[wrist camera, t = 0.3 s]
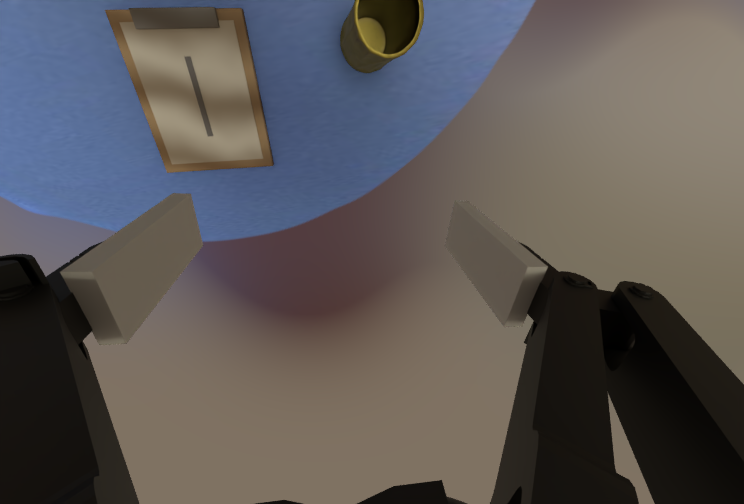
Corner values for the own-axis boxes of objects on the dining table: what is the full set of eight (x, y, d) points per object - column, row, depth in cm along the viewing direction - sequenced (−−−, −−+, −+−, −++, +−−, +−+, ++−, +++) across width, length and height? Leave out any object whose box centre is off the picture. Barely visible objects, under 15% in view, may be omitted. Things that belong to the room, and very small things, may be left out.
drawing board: (110, 11, 29) (100, 8, 28) (243, 9, 31) (239, 6, 29) (170, 171, 37) (164, 173, 36) (273, 164, 39) (272, 166, 37)
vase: (362, 84, 35) (381, 83, 23) (328, 35, 33) (329, 3, 20) (403, 47, 34) (445, 25, 22) (371, -7, 31) (399, -69, 19)
